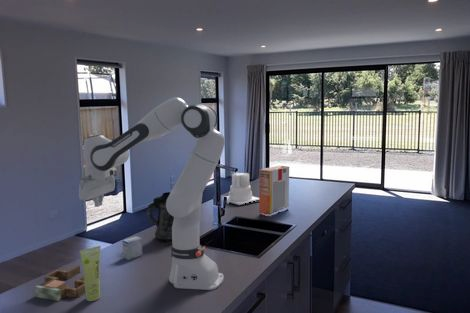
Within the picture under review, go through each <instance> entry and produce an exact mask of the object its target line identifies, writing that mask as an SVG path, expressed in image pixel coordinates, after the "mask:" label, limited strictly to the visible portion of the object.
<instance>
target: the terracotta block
mask: <svg viewBox="0 0 470 313" xmlns="http://www.w3.org/2000/svg"><path fill="white" fill-rule="evenodd" d="M45 287H50V288H56V289H62V288H64V287H67V286H66V281H65V280H63V281H58V280H54V281H52V282H51V283H49V284H47V285H45Z"/></svg>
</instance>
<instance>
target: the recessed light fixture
mask: <svg viewBox="0 0 470 313" xmlns="http://www.w3.org/2000/svg"><path fill="white" fill-rule="evenodd" d="M251 187H252V186H251V185H250V174H249V173H248V172H234V173H232V174H231V185H230V190H229V192H228V195H227V196H225V197H227V201H226V204H230V203H231V204H234V205H238V206H241V205H245V203H246V204H250V203H249V202H251V203H254V202H253V201H255V202H257V201H256V200H259V199H260V197H257V196H254V195H253V191H252V188H251Z"/></svg>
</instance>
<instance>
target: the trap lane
mask: <svg viewBox="0 0 470 313" xmlns="http://www.w3.org/2000/svg"><path fill="white" fill-rule="evenodd" d="M80 273H81V265H79V264H77V265H75V266H73V267H72V268H70V269H68V270H64V269H56V270H53V271H51V272H50V273H48V274H46V275H44V284H42V285H38V284H36V286H34V295H35V298H40V299H45V300H51V301H56V302H59V301H61V300H63V299H64V298H65V297H71V298H75V299H76V298H79V297H81V296H83V295H84V294H86V293H85V283H84V275H81V276H80V277H79V278H77V279H75V280H74V281H73V282H74V287H70V286H66V287H64V288H62V289H56V288H50V287H45V285H47V284H49V283H51V282H52V281H54V280H58V281H65V280H70V279H71V278H72V277H75V276H77V275H78V274H80Z"/></svg>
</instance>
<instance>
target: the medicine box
mask: <svg viewBox="0 0 470 313" xmlns="http://www.w3.org/2000/svg"><path fill="white" fill-rule="evenodd" d="M141 256H143V239H142V237H140V236H133V237H129V238H126V239H124V240H122V257H123V259H125V260H127V261H130V260H132V259H135V258H138V257H141Z"/></svg>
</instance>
